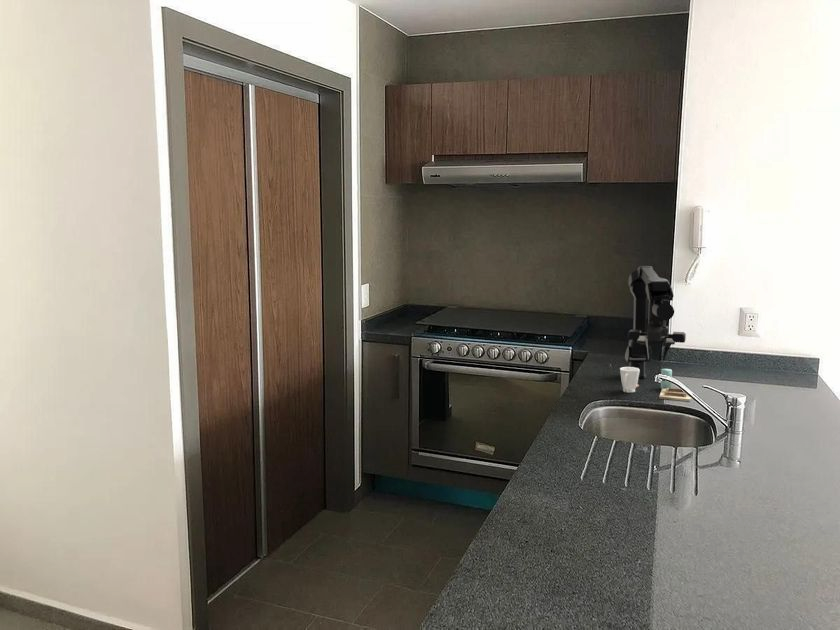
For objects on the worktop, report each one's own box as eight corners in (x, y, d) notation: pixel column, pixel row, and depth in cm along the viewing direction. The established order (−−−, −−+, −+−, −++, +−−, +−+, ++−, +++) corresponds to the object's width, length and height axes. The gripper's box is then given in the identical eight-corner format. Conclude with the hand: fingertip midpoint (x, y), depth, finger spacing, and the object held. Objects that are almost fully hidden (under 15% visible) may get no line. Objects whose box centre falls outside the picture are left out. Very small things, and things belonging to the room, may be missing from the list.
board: (662, 390, 251) (662, 385, 251) (692, 393, 247) (692, 388, 247) (659, 398, 240) (659, 393, 240) (690, 401, 236) (690, 396, 236)
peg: (661, 387, 255) (661, 368, 254) (671, 388, 254) (672, 369, 253) (660, 389, 252) (660, 370, 251) (670, 390, 251) (671, 371, 250)
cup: (641, 389, 252) (642, 367, 251) (634, 396, 244) (635, 373, 243) (621, 387, 256) (622, 365, 255) (614, 393, 247) (615, 371, 246)
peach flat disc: (625, 383, 262) (625, 382, 262) (639, 384, 260) (639, 383, 260) (623, 386, 257) (623, 385, 257) (637, 387, 255) (637, 386, 255)
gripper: (625, 318, 239) (624, 363, 241) (684, 320, 231) (682, 367, 233) (630, 313, 249) (629, 356, 251) (686, 315, 241) (684, 360, 244)
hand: (655, 360), depth 245 cm, fingers open, 5 cm apart
